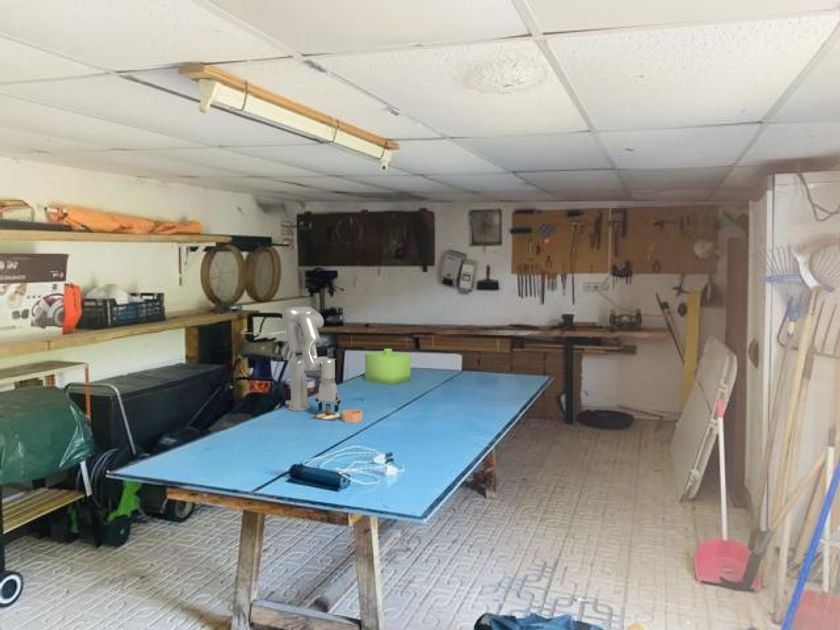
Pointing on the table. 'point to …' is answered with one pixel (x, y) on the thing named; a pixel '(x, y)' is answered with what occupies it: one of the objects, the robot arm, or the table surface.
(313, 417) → the mat
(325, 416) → the lid
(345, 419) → the bowl
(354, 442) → the table surface
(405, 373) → the canister
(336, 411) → the robot arm
